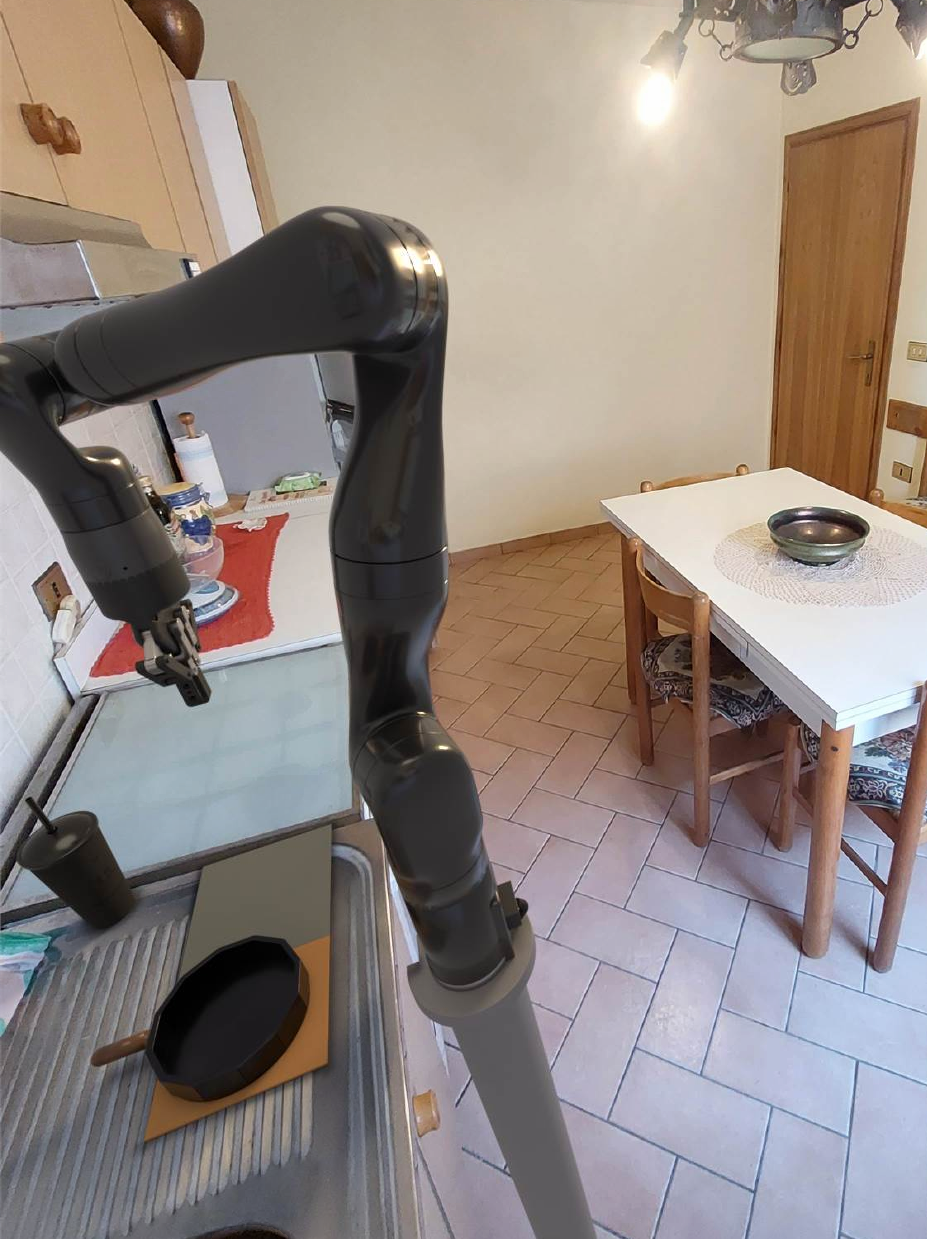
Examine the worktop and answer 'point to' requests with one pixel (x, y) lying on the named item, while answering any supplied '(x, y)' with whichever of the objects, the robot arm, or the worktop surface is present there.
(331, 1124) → the worktop surface
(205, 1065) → the skillet
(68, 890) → the drinking cup
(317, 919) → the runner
